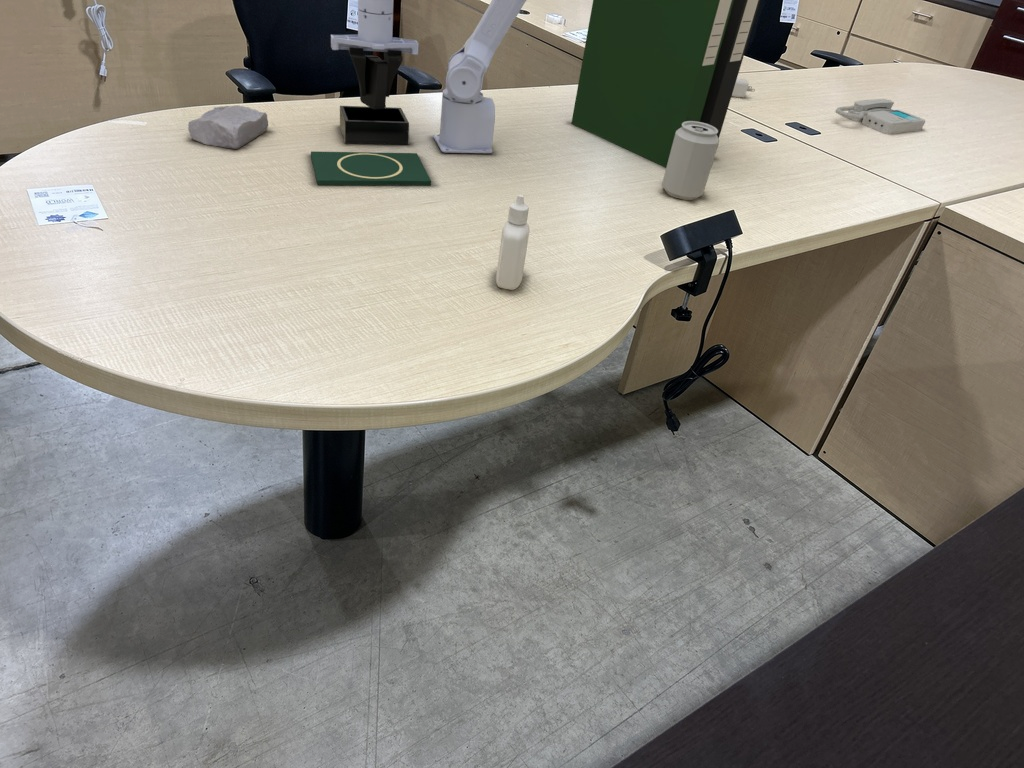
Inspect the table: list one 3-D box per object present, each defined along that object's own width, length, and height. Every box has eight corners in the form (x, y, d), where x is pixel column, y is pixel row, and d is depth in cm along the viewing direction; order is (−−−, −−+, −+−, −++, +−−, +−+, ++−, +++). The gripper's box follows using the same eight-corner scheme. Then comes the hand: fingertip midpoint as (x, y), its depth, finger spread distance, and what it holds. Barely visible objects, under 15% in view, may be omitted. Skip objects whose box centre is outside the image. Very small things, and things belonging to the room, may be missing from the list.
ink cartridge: (385, 110, 130) (389, 62, 125) (374, 110, 128) (377, 63, 124) (371, 100, 133) (373, 53, 128) (359, 101, 131) (362, 54, 126)
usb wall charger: (723, 92, 192) (728, 76, 190) (747, 94, 193) (752, 79, 191) (728, 96, 189) (733, 80, 187) (753, 99, 190) (758, 83, 188)
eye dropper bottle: (482, 280, 97) (493, 195, 90) (509, 267, 101) (520, 184, 94) (508, 293, 95) (520, 207, 88) (534, 280, 99) (548, 196, 92)
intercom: (827, 101, 181) (886, 96, 194) (820, 119, 184) (879, 113, 196) (872, 119, 173) (931, 113, 185) (865, 137, 175) (923, 130, 188)
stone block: (186, 150, 122) (241, 150, 120) (178, 121, 120) (233, 120, 118) (224, 132, 132) (274, 131, 130) (216, 104, 129) (268, 103, 127)
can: (704, 191, 133) (724, 125, 126) (699, 205, 128) (720, 137, 120) (664, 181, 135) (681, 115, 128) (657, 195, 129) (675, 126, 122)
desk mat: (416, 157, 129) (417, 152, 128) (431, 185, 120) (431, 180, 119) (310, 155, 123) (310, 150, 122) (317, 185, 114) (317, 179, 114)
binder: (568, 123, 154) (599, -51, 135) (613, 115, 163) (648, -49, 144) (671, 170, 140) (722, -17, 121) (714, 157, 149) (767, -18, 130)
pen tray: (400, 129, 139) (401, 107, 136) (408, 145, 133) (409, 122, 130) (339, 127, 135) (339, 105, 133) (345, 143, 129) (345, 121, 127)
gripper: (333, 12, 116) (334, 100, 124) (423, 19, 121) (419, 103, 129) (328, 2, 121) (330, 87, 130) (415, 9, 126) (411, 90, 134)
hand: (374, 94), depth 130 cm, fingers closed on ink cartridge, 3 cm apart
